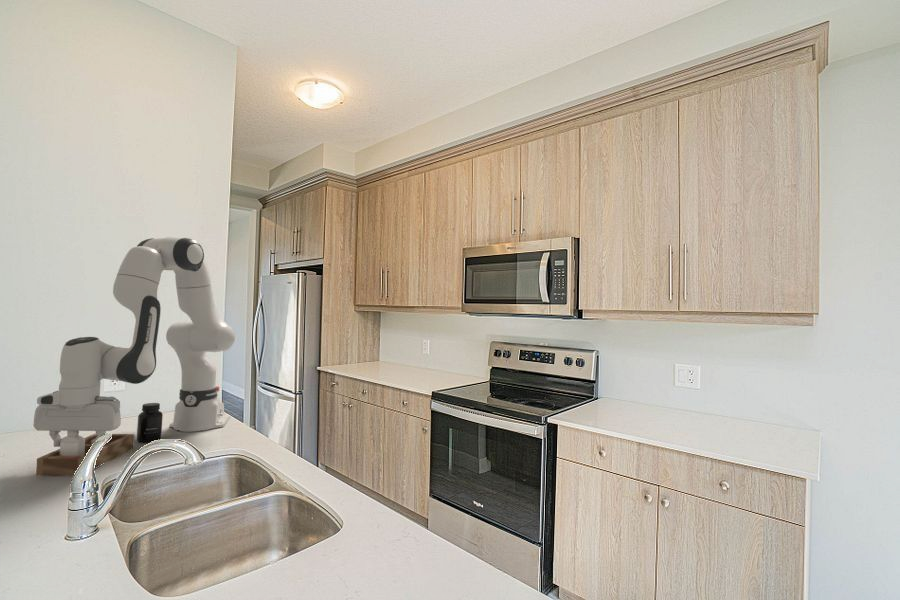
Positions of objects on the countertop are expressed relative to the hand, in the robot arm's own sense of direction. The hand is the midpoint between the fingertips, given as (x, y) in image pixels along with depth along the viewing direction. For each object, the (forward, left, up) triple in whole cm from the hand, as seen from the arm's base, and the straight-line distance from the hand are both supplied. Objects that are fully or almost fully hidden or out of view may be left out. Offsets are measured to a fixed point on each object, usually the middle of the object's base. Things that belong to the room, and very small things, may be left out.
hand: (77, 446), depth 121 cm
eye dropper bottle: (0, -1, -6) cm, 6 cm away
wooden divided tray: (-5, 0, -6) cm, 8 cm away
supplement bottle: (-24, +6, -6) cm, 25 cm away
